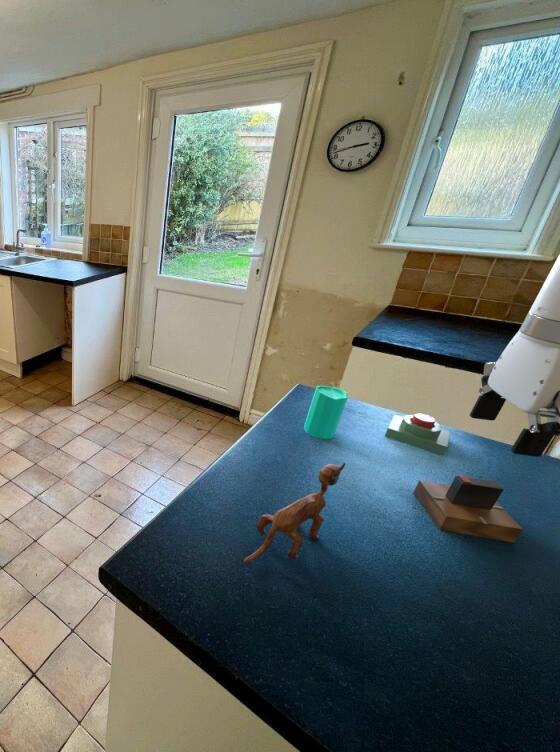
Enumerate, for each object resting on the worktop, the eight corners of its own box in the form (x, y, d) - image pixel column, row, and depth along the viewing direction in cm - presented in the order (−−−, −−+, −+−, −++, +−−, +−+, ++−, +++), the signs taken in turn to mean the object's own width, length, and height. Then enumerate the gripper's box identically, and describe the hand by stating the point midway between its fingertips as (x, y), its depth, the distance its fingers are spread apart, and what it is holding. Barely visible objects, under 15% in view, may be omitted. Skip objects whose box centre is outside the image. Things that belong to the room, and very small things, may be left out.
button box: (446, 439, 91) (454, 424, 90) (443, 455, 86) (451, 439, 85) (390, 422, 98) (396, 407, 96) (384, 436, 93) (390, 421, 91)
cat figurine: (261, 585, 60) (285, 515, 54) (224, 552, 65) (242, 484, 59) (334, 538, 67) (362, 471, 61) (296, 511, 72) (318, 447, 67)
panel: (477, 502, 74) (485, 488, 73) (515, 544, 66) (525, 530, 65) (411, 491, 77) (418, 478, 75) (440, 531, 68) (448, 517, 67)
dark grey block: (483, 501, 70) (496, 479, 68) (491, 510, 68) (504, 488, 66) (444, 495, 72) (456, 474, 70) (451, 503, 70) (463, 481, 68)
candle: (299, 431, 95) (313, 384, 89) (308, 421, 98) (322, 376, 93) (329, 442, 91) (346, 394, 85) (337, 431, 94) (354, 385, 89)
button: (433, 424, 90) (436, 417, 90) (431, 431, 88) (434, 424, 87) (412, 418, 93) (415, 411, 92) (410, 424, 90) (413, 417, 90)
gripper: (663, 359, 48) (580, 476, 55) (547, 313, 63) (494, 410, 70) (580, 352, 50) (510, 466, 57) (487, 309, 65) (441, 404, 72)
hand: (501, 435), depth 64 cm, fingers open, 9 cm apart
